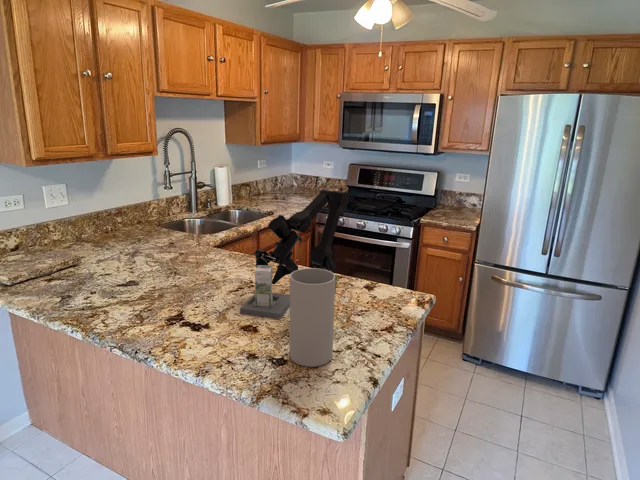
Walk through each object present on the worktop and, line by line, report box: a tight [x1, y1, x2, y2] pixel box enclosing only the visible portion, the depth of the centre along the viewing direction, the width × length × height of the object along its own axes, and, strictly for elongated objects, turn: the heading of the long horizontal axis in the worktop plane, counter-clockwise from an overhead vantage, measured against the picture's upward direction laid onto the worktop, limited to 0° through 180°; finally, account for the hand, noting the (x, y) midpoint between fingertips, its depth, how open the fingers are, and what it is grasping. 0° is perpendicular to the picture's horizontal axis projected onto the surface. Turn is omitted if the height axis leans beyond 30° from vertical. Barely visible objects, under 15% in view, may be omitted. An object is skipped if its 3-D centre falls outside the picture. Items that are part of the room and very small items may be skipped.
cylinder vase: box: [289, 267, 336, 368], centre depth 121 cm, size 12×12×25 cm
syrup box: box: [254, 265, 273, 307], centre depth 155 cm, size 6×6×14 cm
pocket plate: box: [239, 292, 290, 320], centre depth 155 cm, size 15×16×2 cm
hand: (263, 280), depth 154 cm, fingers open, 9 cm apart
